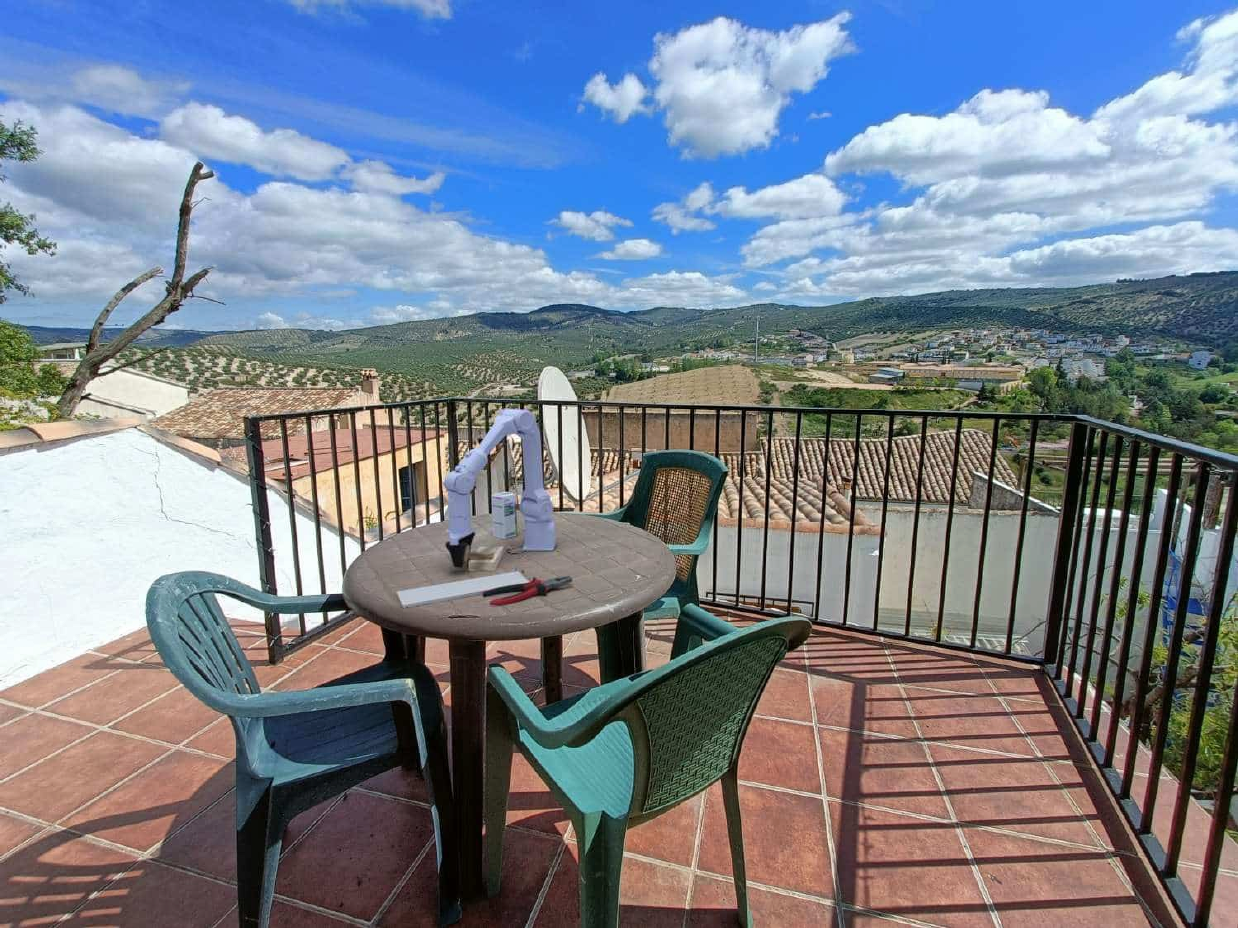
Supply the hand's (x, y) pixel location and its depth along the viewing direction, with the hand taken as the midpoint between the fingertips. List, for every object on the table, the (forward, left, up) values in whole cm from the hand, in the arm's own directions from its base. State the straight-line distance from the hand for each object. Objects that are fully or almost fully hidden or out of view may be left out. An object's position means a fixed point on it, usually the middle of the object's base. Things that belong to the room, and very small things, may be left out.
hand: (461, 562), depth 159 cm
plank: (-6, -5, -2) cm, 8 cm away
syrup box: (-6, -31, -2) cm, 32 cm away
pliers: (-21, +18, -2) cm, 28 cm away
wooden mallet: (-3, 0, -2) cm, 4 cm away
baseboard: (-4, +15, -2) cm, 16 cm away
